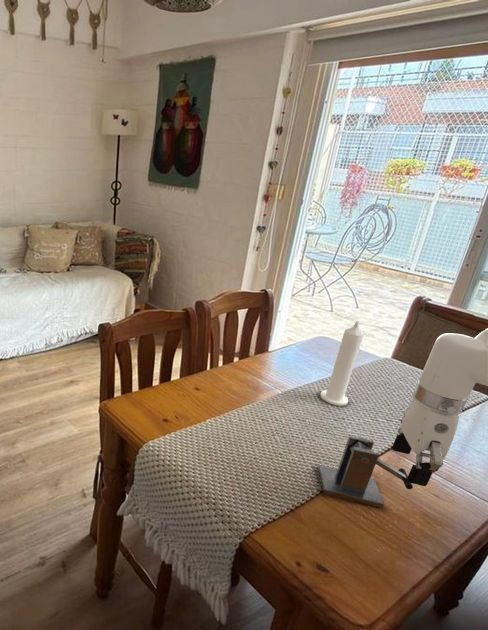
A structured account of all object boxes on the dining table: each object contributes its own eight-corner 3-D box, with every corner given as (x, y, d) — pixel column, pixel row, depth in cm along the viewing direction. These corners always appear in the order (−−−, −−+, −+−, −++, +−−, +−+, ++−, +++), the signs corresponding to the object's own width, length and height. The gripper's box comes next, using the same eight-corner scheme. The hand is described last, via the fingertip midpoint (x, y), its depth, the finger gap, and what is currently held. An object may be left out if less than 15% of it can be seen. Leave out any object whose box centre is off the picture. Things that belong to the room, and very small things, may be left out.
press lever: (399, 475, 94) (408, 468, 93) (407, 492, 90) (416, 485, 88) (348, 444, 95) (356, 437, 94) (353, 459, 91) (362, 451, 90)
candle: (324, 389, 133) (347, 313, 123) (350, 399, 128) (376, 321, 118) (316, 398, 128) (339, 320, 118) (343, 408, 124) (369, 328, 114)
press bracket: (372, 481, 98) (388, 439, 93) (382, 508, 91) (400, 464, 86) (317, 468, 101) (330, 427, 97) (323, 493, 94) (337, 450, 90)
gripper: (485, 428, 75) (446, 503, 82) (444, 378, 90) (414, 445, 96) (433, 418, 77) (399, 491, 84) (401, 371, 92) (375, 436, 99)
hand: (407, 466), depth 90 cm, fingers open, 9 cm apart
